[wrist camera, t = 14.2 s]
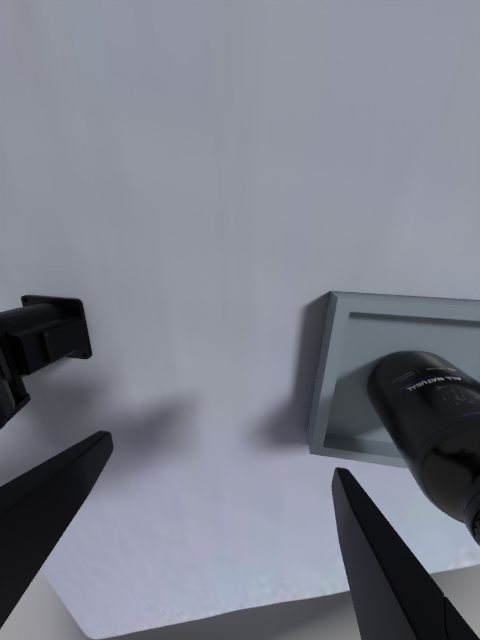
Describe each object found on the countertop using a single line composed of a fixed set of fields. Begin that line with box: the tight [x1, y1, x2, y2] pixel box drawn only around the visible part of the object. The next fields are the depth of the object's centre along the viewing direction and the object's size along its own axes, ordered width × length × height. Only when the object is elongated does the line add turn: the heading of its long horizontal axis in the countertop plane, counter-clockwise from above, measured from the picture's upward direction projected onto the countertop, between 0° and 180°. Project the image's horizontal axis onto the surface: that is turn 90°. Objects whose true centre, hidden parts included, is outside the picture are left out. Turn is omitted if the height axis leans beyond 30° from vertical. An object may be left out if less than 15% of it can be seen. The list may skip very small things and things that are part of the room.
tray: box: [307, 291, 480, 468], centre depth 19 cm, size 15×15×2 cm
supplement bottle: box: [367, 351, 480, 546], centre depth 14 cm, size 7×7×12 cm
